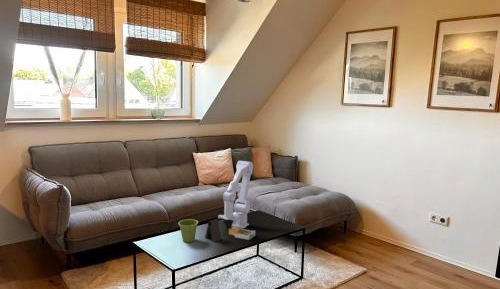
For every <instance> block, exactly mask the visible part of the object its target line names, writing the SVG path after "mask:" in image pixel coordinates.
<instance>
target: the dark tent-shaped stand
mask: <svg viewBox="0 0 500 289" xmlns="http://www.w3.org/2000/svg"><path fill="white" fill-rule="evenodd" d="M219 223H220V221H219V218H216V219H215V218H214V219H212V220H208V222H207V226H206V227H207V228H206V231H205V235H204V239H205V240H208V241H211V242H212V243H216V242H218V241H221V240H222V234H221V230H220V225H219Z"/></svg>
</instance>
